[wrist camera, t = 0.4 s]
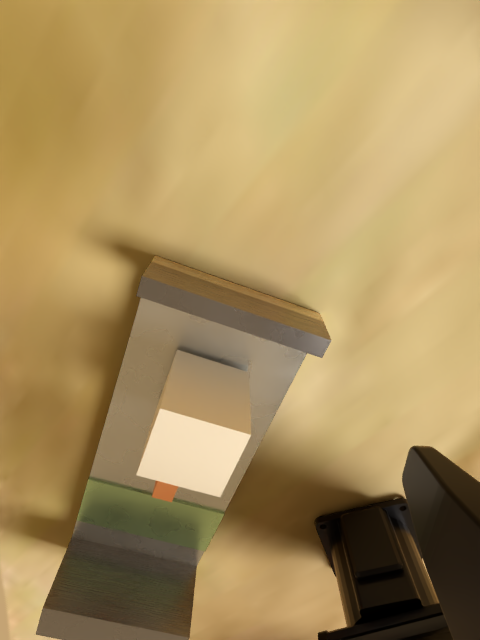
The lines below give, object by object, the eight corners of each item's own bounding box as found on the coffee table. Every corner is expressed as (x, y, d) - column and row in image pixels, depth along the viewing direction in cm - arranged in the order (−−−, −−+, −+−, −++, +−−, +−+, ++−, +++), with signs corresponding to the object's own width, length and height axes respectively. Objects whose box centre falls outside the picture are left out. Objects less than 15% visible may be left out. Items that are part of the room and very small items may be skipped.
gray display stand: (155, 255, 20) (127, 298, 15) (320, 313, 21) (343, 370, 16) (69, 549, 30) (35, 634, 25) (186, 576, 31) (175, 661, 26)
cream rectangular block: (176, 349, 21) (160, 408, 16) (249, 372, 21) (251, 435, 17) (134, 469, 24) (111, 543, 20) (197, 486, 25) (188, 561, 21)
